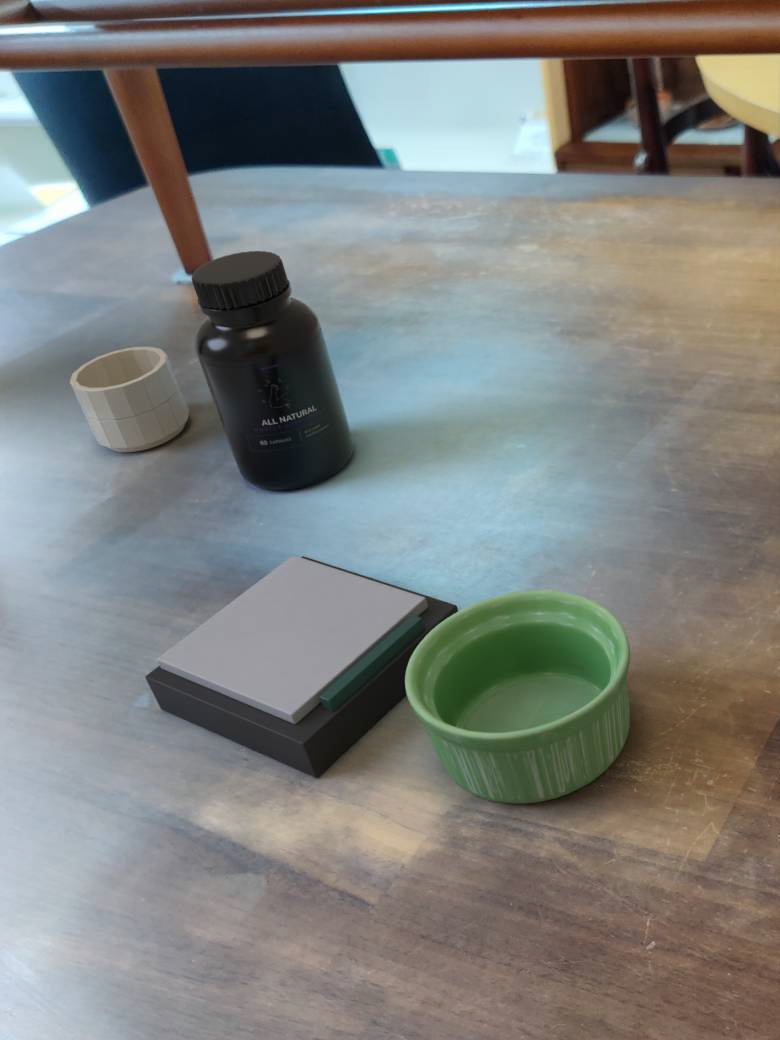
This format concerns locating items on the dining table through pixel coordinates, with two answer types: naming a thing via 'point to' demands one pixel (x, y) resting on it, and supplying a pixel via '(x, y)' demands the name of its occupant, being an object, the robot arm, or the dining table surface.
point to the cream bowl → (131, 398)
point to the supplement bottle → (269, 373)
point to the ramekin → (524, 694)
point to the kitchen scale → (298, 662)
